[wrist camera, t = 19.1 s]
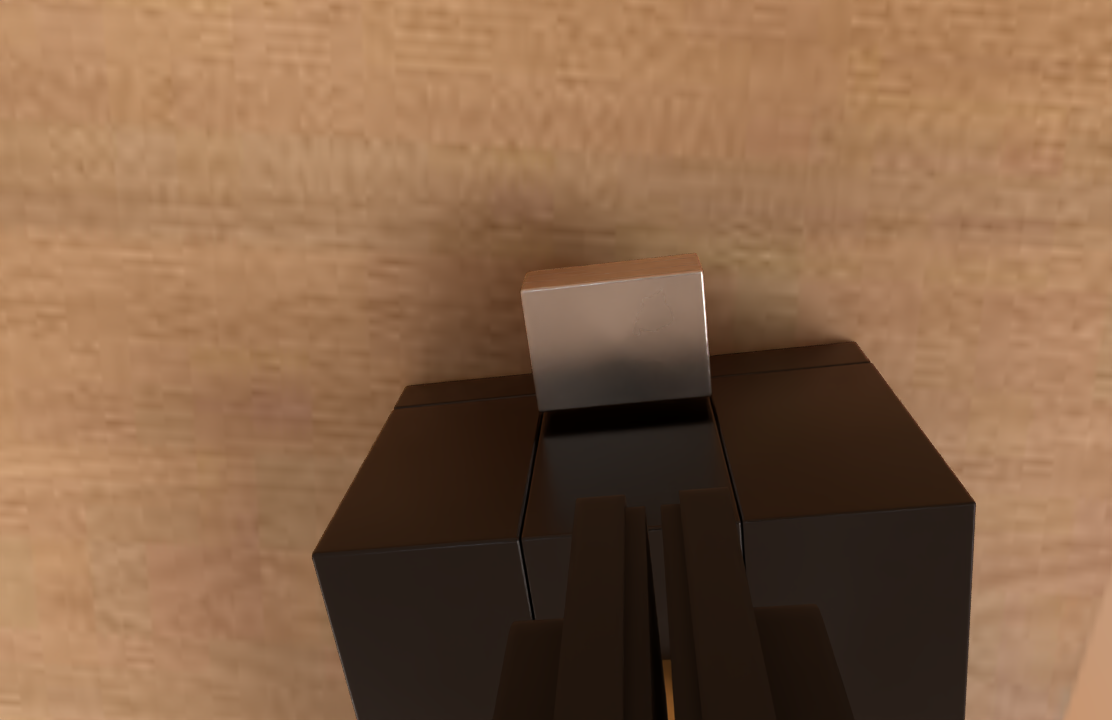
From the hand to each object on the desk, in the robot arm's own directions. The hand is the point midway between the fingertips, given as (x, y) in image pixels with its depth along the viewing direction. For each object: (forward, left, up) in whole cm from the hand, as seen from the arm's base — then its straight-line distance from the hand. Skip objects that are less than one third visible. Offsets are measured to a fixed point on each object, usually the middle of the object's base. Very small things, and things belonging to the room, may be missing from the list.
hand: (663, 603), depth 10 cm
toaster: (+1, +10, -13) cm, 17 cm away
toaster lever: (+1, +1, -11) cm, 11 cm away
